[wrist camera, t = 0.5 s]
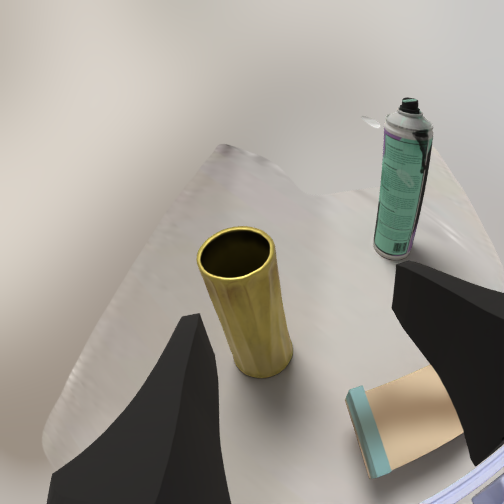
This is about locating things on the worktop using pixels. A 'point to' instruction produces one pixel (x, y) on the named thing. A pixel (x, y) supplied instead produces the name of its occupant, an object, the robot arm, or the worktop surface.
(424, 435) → the tan panel teal strip
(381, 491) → the worktop surface
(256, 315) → the vase
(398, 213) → the spray can
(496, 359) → the robot arm
